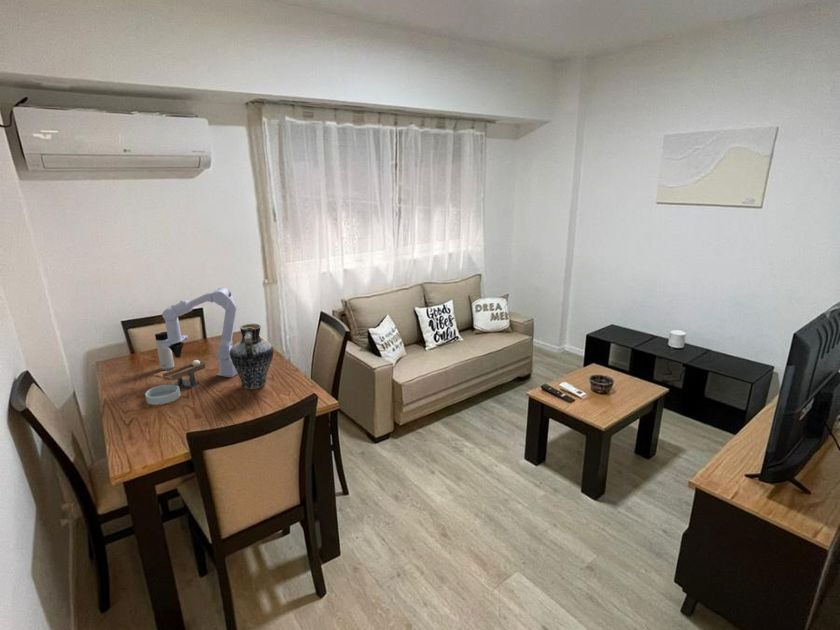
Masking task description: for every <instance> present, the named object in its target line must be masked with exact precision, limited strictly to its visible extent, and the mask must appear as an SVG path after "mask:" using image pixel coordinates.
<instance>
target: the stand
mask: <svg viewBox="0 0 840 630" xmlns="http://www.w3.org/2000/svg"><path fill="white" fill-rule="evenodd" d="M176 380H177V382H175V383H173V385H177V386H178V387H179V388H180V387H181V388H188V389H193V388H194V387H197V386H198V385H200V381H196V377H195V372H193V371H192V372H190V373H189V380H188V379H183V377H181V378H179V379H176Z"/></svg>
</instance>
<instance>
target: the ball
mask: <svg viewBox="0 0 840 630" xmlns="http://www.w3.org/2000/svg"><path fill="white" fill-rule="evenodd" d="M200 361H201V360H199V361H198V359H195V360H193V361H192V365H193V366H194V367H195V366H197V365H200Z"/></svg>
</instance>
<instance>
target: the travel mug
mask: <svg viewBox="0 0 840 630" xmlns="http://www.w3.org/2000/svg"><path fill="white" fill-rule="evenodd" d="M154 337H155V344H156V349H157V355H158V360H159V365H160V367H159V368H160V370H161V371H163V370H165V371H166V370H167V371H172V370H174V369H175V363H174V356H173V355H174V354H173V352H172V350H171V349H170V348H169V347H167V348H166V349H164V348H162V344H164V343H165V342H167V339H168V335H167V331H162V332H160V333H155V334H154Z"/></svg>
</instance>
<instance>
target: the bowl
mask: <svg viewBox="0 0 840 630" xmlns="http://www.w3.org/2000/svg"><path fill="white" fill-rule="evenodd" d="M181 395H182V394H181V389H180V386H177V385H174V383H173V384H171V383H169V384H161V385H158V386H153V387H151V388H150V389H147V391H145V393H144V396H145V400H146V403H147V404H148V405H153V406H158V405H159V404H160V405H166V404H169V403H172V401H173V402H175V401H176V400H178V399H179V398H180V396H181ZM165 403H166V404H165Z"/></svg>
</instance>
